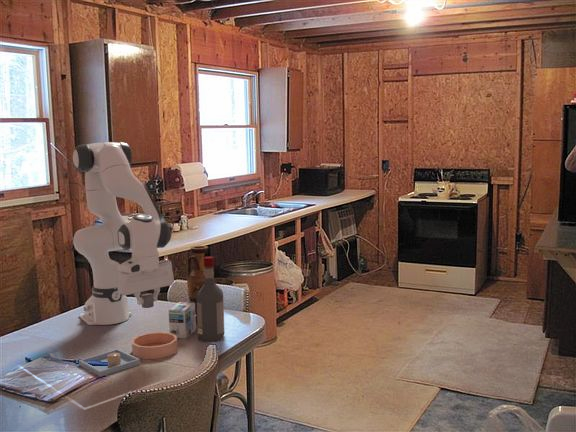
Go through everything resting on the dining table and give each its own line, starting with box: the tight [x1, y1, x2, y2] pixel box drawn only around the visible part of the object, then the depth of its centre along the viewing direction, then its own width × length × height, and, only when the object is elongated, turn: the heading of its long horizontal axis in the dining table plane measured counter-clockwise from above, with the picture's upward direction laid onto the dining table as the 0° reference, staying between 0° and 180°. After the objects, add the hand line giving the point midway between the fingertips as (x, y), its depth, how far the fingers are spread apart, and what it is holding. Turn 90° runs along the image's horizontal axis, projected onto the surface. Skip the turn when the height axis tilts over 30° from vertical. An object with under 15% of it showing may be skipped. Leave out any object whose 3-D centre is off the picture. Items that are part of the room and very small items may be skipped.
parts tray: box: [78, 348, 141, 378], centre depth 194 cm, size 14×14×2 cm
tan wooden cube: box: [107, 353, 121, 368], centre depth 191 cm, size 4×4×4 cm
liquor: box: [196, 255, 225, 343], centre depth 217 cm, size 9×9×30 cm
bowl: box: [131, 331, 178, 360], centre depth 206 cm, size 15×15×4 cm
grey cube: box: [140, 292, 155, 309], centre depth 205 cm, size 4×4×4 cm
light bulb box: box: [168, 301, 197, 339], centre depth 224 cm, size 11×7×11 cm, turn 168°
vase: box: [185, 245, 209, 325], centre depth 237 cm, size 11×11×30 cm
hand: (147, 302), depth 206 cm, fingers closed on grey cube, 4 cm apart
